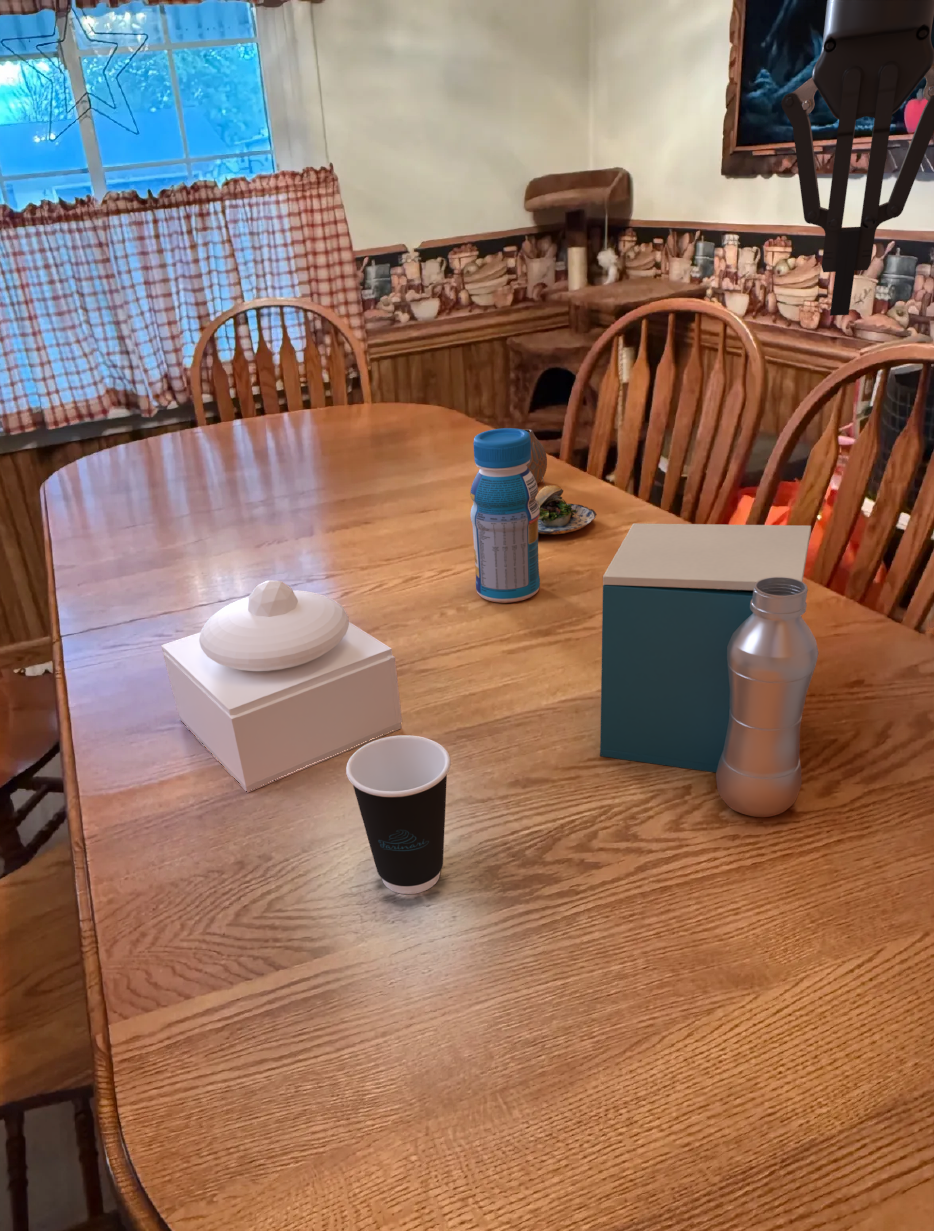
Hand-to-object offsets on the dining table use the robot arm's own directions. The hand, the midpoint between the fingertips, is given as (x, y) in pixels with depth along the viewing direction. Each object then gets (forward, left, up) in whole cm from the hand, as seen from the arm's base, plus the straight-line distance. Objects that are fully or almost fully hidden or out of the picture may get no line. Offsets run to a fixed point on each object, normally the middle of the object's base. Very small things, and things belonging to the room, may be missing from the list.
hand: (839, 311), depth 83 cm
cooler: (+8, +17, -34) cm, 39 cm away
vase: (+45, -53, -35) cm, 78 cm away
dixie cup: (+26, +44, -35) cm, 61 cm away
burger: (+35, -34, -35) cm, 60 cm away
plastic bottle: (+1, +27, -35) cm, 44 cm away
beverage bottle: (+35, -11, -35) cm, 50 cm away
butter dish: (+48, +25, -35) cm, 64 cm away
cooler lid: (+8, +17, -17) cm, 25 cm away
